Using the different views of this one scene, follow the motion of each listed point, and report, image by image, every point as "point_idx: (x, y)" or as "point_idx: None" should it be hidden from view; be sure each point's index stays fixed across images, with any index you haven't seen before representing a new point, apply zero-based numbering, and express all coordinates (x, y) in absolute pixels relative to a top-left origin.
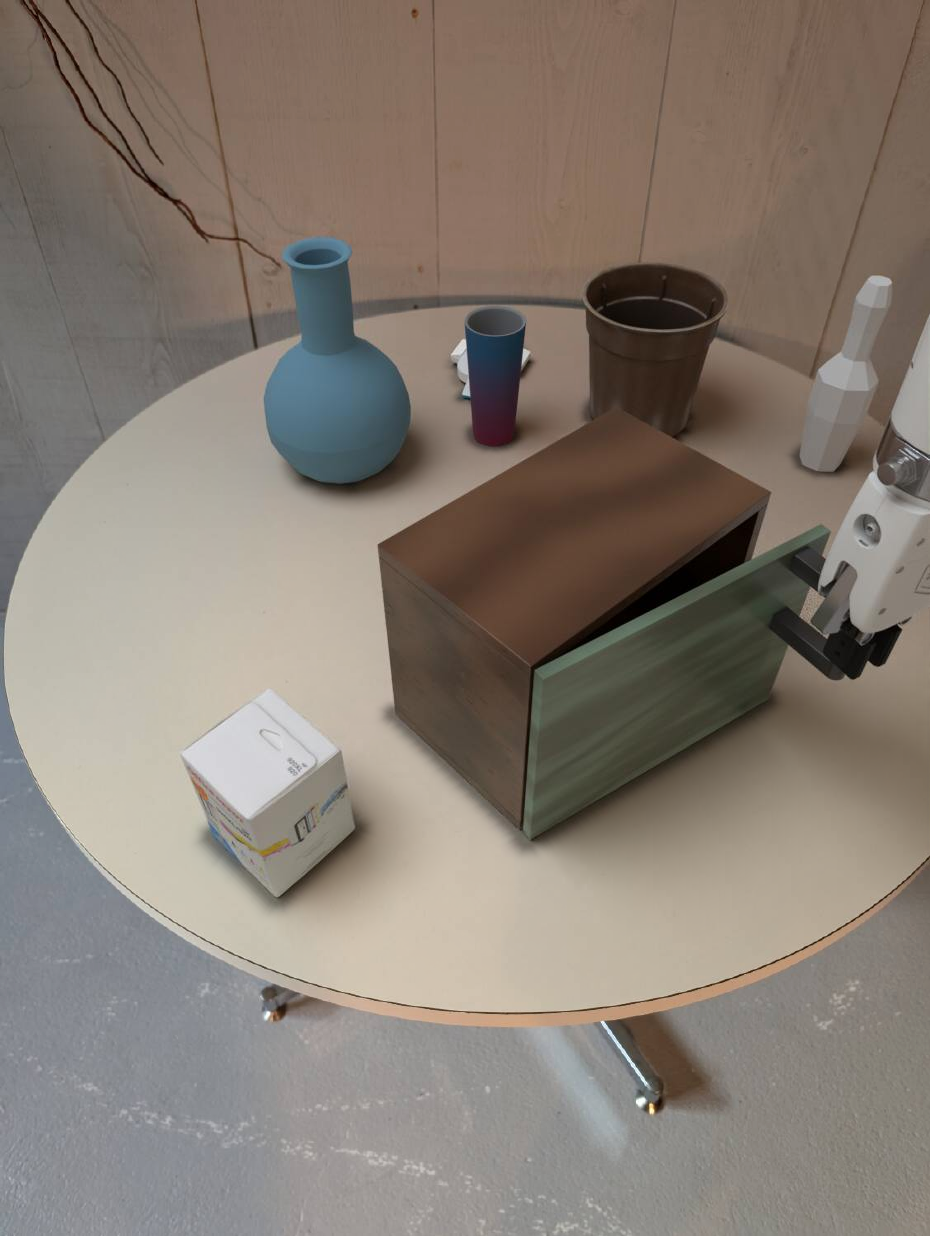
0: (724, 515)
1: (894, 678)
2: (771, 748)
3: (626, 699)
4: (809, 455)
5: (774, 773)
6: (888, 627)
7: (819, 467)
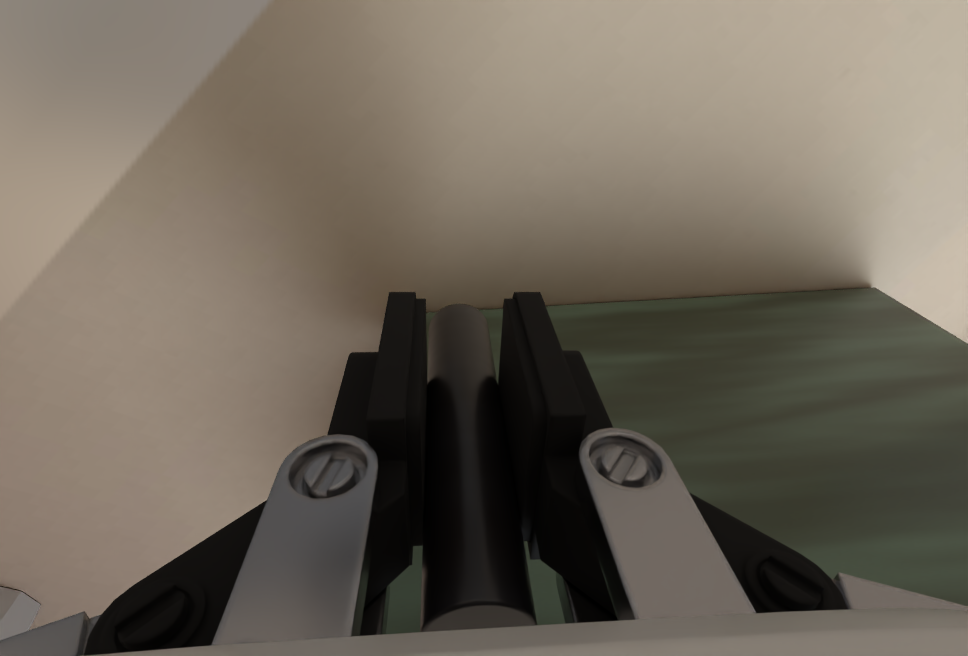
0: None
1: (140, 244)
2: (463, 238)
3: (928, 469)
4: (21, 624)
5: (496, 197)
6: (941, 631)
7: (14, 598)
